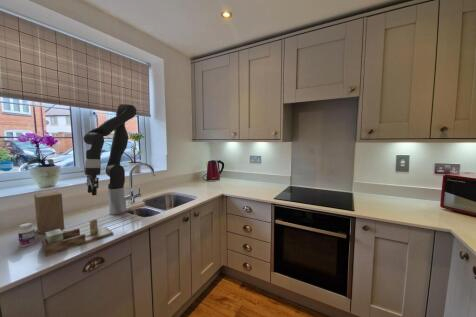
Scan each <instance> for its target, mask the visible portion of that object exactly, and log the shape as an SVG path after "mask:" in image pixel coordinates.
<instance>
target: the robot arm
mask: <svg viewBox="0 0 476 317" xmlns="http://www.w3.org/2000/svg"><path fill="white" fill-rule="evenodd" d="M115 111H116V113H115V116H113V117H111V118H109V119H107V120H105V121H104V122H102V123H100V124H99V126H98V127H96V128H95V127H94V128H92V129H91V130H90V131H88V132H86V133H85V134H84V136H83V142H84V143H85V144H86V145H91V146H90V148H88V149H86V152H85V161H84V175H85V176H86V183H85V184H86V186H87V193H88V194H91V196H97V193H98V192H97V190H98V188H99V182H100V180H99V177H97V176H100V175H101V172H102V171H101V170H102V168H101V164H102V162H101V161H102V160H101V158H102V157H101V154H102V151H103V148H104V144H105V137H108V136H109V135H111V134H112V133H113V135H112V140H111V145H110V153H109V157H108V160H107V165H106V167H105V174H106V176H108V177H109V183H108V185H107V193H108V194H107V195H108V208H109V214H110V215H120V214H123V213H125V212H127V200H126V197H125V183H126V178H125V177H126V172H125V167H124V166H122V165H121V159H122V157H123V154H124V153H125V151H126V149H127V147H128V142H129V133H128V131H127V129H126V122H128V121H130V120H131V119H133V118H135V116H136V115H137V108H136V106H135V105H133V104H127V103H121V104H119V105H117V107H116V110H115Z"/></svg>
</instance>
